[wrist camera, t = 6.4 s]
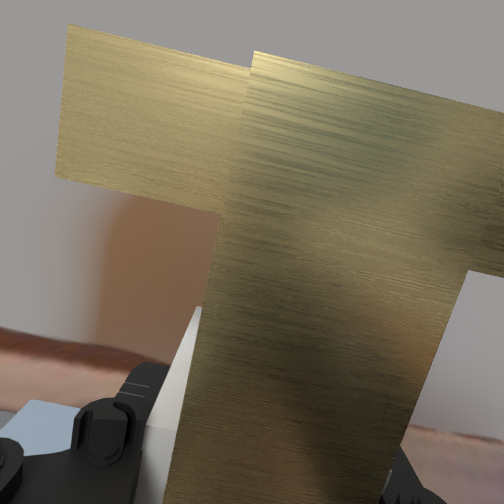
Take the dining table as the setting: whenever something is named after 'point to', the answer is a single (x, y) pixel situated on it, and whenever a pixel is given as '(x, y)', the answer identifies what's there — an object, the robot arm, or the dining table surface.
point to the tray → (5, 418)
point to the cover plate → (41, 427)
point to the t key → (295, 250)
